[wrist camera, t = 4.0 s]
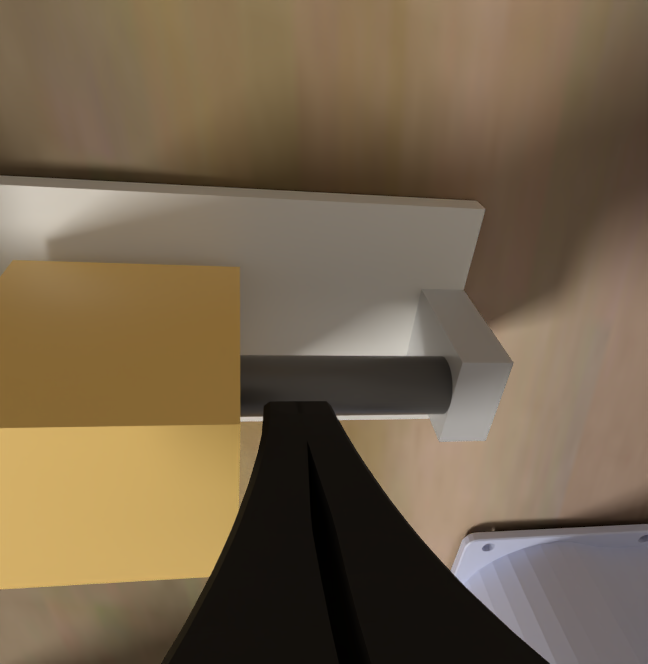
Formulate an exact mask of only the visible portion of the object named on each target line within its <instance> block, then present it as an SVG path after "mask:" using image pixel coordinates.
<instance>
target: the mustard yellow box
mask: <svg viewBox="0 0 648 664" xmlns="http://www.w3.org/2000/svg"><path fill="white" fill-rule="evenodd" d="M239 468H240V267H228V266H196V265H163V264H130V263H97V262H64V261H31V260H12V262H11V263H10V264H9V266H8V267H7V268H6V270H5V271H4V272H3V274H2V275H1V276H0V589H14V588H31V587H48V586H65V585H81V584H98V583H115V582H132V581H149V580H166V579H183V578H199V577H210V575H211V573H212V571H213V569H214V567H215V565H216V563H217V560H218V558H219V556H220V554H221V552H222V550H223V547H224V545H225V543H226V541H227V538H228V536H229V534H230V531H231V529H232V527H233V524H234V522H235V519H236V516H237V514H238V511H239Z"/></svg>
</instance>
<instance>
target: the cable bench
mask: <svg viewBox="0 0 648 664" xmlns="http://www.w3.org/2000/svg"><path fill="white" fill-rule="evenodd" d="M485 210H486V209H485V208H484V207H483V206H482V205H481V204H480V203H479V202H478V201H472V200H453V199H434V198H416V197H397V196H378V195H359V194H341V193H322V192H303V191H284V190H266V189H247V188H228V187H209V186H191V185H172V184H153V183H135V182H116V181H97V180H78V179H60V178H41V177H22V176H3V175H0V276H1V275H2V274H3V272H4V271H5V270H6V268H7V267H8V266H9V264H10V263H11V262H12V260H31V261H64V262H97V263H130V264H163V265H196V266H228V267H240V421H263V408H264V405H266V404H267V403H268V402H270V401H327V402H328V403H329V404H330V405H331V406H332V408H333V410H334V412H335V414H336V416H337V418H338V420H371V419H429V418H430V421H431V423H432V426H433V428H434V430H435V433H436V435H437V438H438V440H439V442H450V441H486V438H487V435H488V433H489V430H490V427H491V424H492V422H493V419H494V416H495V413H496V410H497V408H498V405H499V402H500V399H501V396H502V394H503V391H504V388H505V385H506V383H507V380H508V377H509V374H510V371H511V369H512V366H513V361H512V360H511V358H510V357H509V355H508V354H507V352H506V351H505V349H504V348H503V347H502V345H501V344H500V342H499V341H498V339H497V338H496V336H495V335H494V333H493V332H492V331H491V329H490V328H489V326H488V325H487V323H486V322H485V320H484V319H483V317H482V316H481V315H480V313H479V312H478V310H477V309H476V307H475V306H474V304H473V303H472V301H471V300H470V299H469V297H468V296H467V294H466V293H465V291H464V287H465V283H466V279H467V276H468V272H469V268H470V265H471V261H472V257H473V254H474V250H475V246H476V243H477V239H478V235H479V232H480V228H481V224H482V221H483V217H484V213H485Z"/></svg>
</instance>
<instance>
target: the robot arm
mask: <svg viewBox="0 0 648 664" xmlns="http://www.w3.org/2000/svg"><path fill="white" fill-rule="evenodd" d="M161 664H648V524H634V525H614V526H594V527H574V528H554V529H535V530H515V531H495V532H476V533H471V534H469V535H467V536H466V537H464V539H463V540H462V542H461V545H460V548H459V550H458V553H457V555H456V558H455V561H454V563H453V566H452V569H451V571H450V570H449V569H448V568H447V567H446V566H445V565H444V564H443V563H442V562H441V561H440V559H439V558H438V557H437V556H436V555H435V554H434V553H433V552H432V550H431V549H430V548H429V547H428V546H427V545H426V544H425V543H424V541H423V540H422V539H421V538H420V537H419V535H418V534H417V533H416V532H415V531H414V529H413V528H412V527H411V526H410V525H409V523H408V522H407V521H406V520H405V518H404V517H403V516H402V514H401V513H400V512H399V511H398V509H397V508H396V507H395V505H394V504H393V503H392V501H391V500H390V499H389V497H388V496H387V495H386V493H385V492H384V491H383V489H382V488H381V486H380V485H379V483H378V482H377V481H376V479H375V478H374V476H373V475H372V473H371V472H370V470H369V469H368V467H367V466H366V464H365V463H364V461H363V460H362V458H361V457H360V455H359V454H358V452H357V451H356V449H355V447H354V446H353V444H352V442H351V441H350V439H349V437H348V436H347V434H346V432H345V431H344V429H343V427H342V425H341V423H340V422H339V420H338V418H337V416H336V414H335V412H334V410H333V408H332V406H331V405H330V404H329V403H328V402H327V401H270V402H268V403H267V404H266V405H264V408H263V426H262V436H261V441H260V445H259V450H258V454H257V457H256V461H255V464H254V467H253V471H252V474H251V478H250V481H249V484H248V487H247V490H246V493H245V495H244V498H243V501H242V503H241V506H240V509H239V511H238V514H237V516H236V519H235V522H234V524H233V527H232V529H231V531H230V534H229V536H228V538H227V541H226V543H225V545H224V547H223V550H222V552H221V554H220V556H219V558H218V560H217V563H216V565H215V567H214V569H213V571H212V573H211V575H210V577H209V579H208V581H207V583H206V585H205V587H204V589H203V591H202V593H201V594H200V596H199V598H198V600H197V602H196V604H195V606H194V608H193V610H192V612H191V613H190V615H189V617H188V619H187V621H186V623H185V624H184V626H183V628H182V630H181V631H180V633H179V635H178V636H177V638H176V640H175V641H174V643H173V645H172V646H171V648H170V650H169V651H168V653H167V655H166V656H165V658H164V660H163V661H162V663H161Z"/></svg>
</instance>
